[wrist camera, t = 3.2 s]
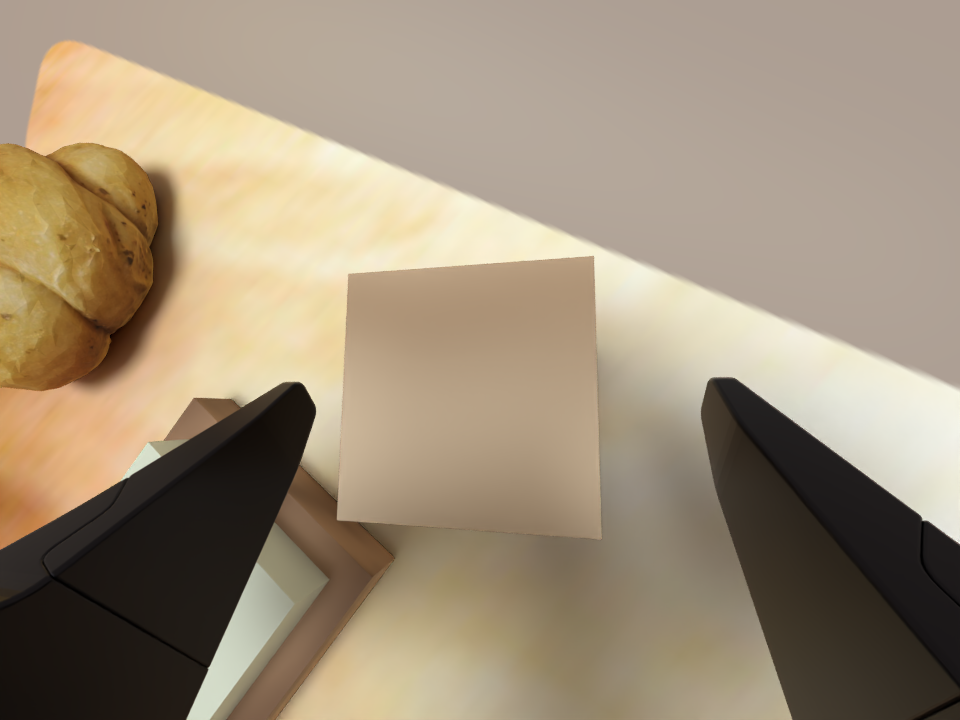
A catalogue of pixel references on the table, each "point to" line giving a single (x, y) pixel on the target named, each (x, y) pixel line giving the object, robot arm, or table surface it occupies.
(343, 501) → the oak block
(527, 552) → the table surface
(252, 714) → the walnut base slab
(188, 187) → the table surface
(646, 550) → the table surface
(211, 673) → the sage slab
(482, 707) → the table surface
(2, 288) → the bread roll
